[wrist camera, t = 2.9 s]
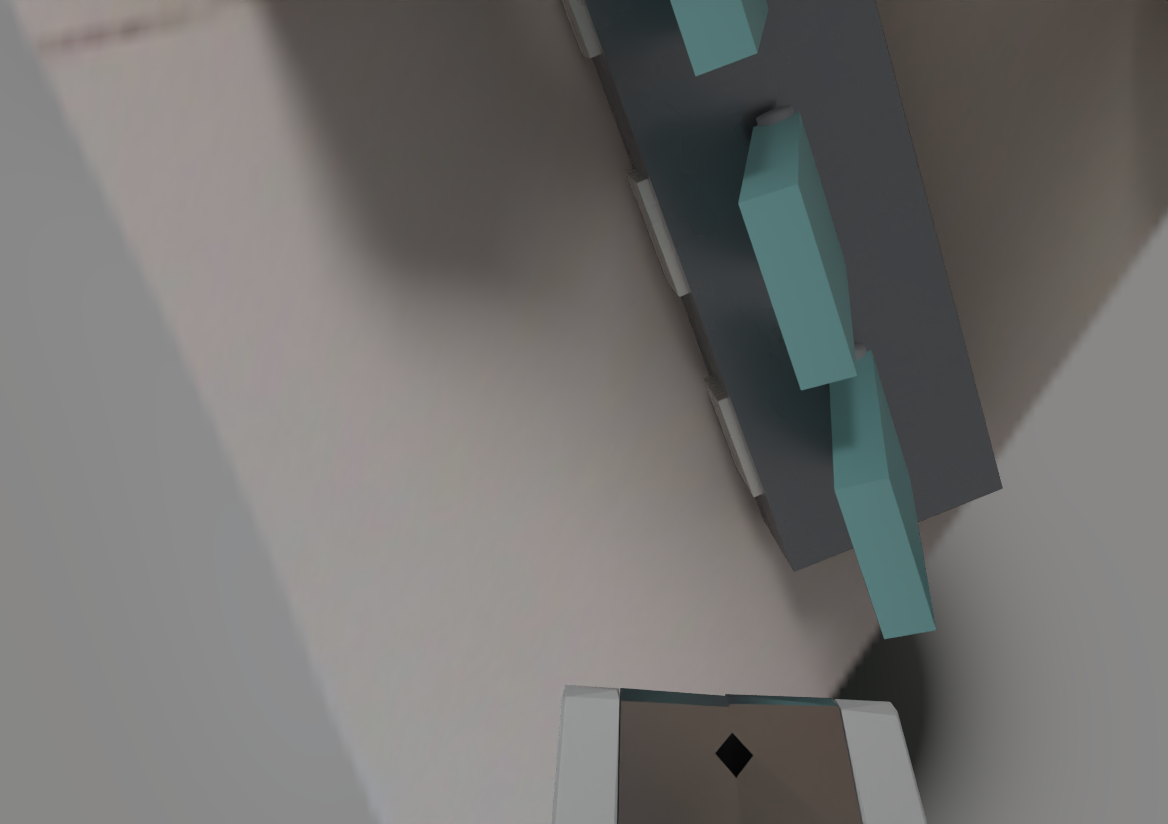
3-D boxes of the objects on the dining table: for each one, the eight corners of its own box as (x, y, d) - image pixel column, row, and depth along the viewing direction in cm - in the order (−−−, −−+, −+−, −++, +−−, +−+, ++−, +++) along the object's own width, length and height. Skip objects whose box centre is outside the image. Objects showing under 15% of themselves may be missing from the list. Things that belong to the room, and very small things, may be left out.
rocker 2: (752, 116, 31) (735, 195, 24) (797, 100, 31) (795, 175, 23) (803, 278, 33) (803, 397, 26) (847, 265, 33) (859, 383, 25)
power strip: (486, -194, 31) (489, -223, 27) (746, -308, 31) (786, -354, 27) (756, 524, 41) (785, 576, 37) (954, 444, 41) (1005, 489, 37)
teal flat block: (826, 349, 34) (832, 483, 27) (869, 337, 34) (886, 471, 26) (869, 484, 36) (886, 644, 29) (910, 475, 36) (938, 635, 28)
